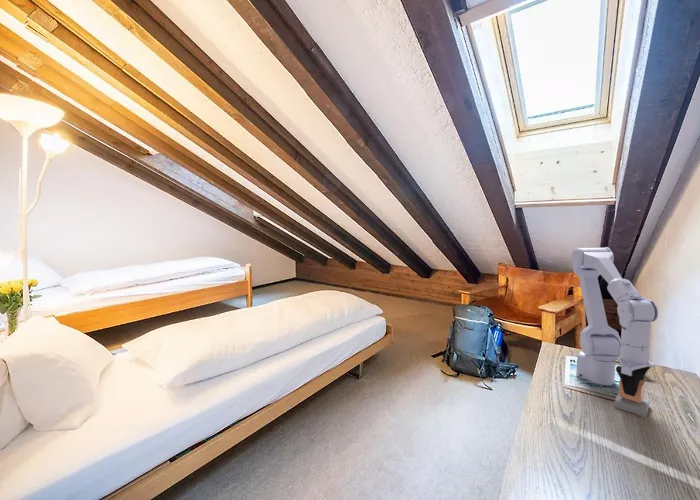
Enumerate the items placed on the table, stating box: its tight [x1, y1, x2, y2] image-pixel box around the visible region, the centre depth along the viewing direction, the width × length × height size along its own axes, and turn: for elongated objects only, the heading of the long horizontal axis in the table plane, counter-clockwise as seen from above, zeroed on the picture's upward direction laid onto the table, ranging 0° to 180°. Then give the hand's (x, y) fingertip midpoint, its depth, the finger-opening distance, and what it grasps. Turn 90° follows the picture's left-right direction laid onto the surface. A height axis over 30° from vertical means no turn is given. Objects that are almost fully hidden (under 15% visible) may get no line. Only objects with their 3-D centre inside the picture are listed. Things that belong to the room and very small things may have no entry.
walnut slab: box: [611, 401, 652, 419], centre depth 87 cm, size 7×7×2 cm
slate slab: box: [613, 391, 650, 418], centre depth 87 cm, size 6×6×2 cm
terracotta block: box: [618, 379, 647, 403], centre depth 86 cm, size 4×4×4 cm
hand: (631, 391), depth 87 cm, fingers closed on terracotta block, 4 cm apart
